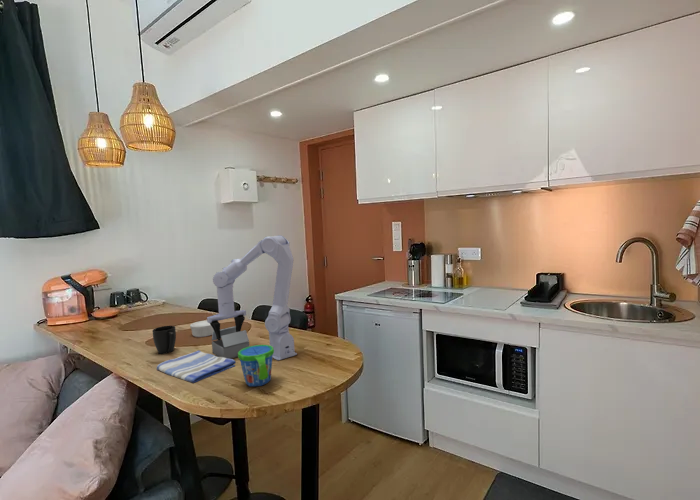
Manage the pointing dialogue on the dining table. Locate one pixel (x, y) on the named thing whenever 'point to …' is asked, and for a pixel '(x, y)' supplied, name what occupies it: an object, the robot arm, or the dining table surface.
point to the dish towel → (195, 366)
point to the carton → (227, 349)
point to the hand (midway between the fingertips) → (228, 337)
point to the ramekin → (201, 329)
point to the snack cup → (256, 364)
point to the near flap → (234, 338)
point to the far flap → (224, 332)
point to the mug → (164, 339)
